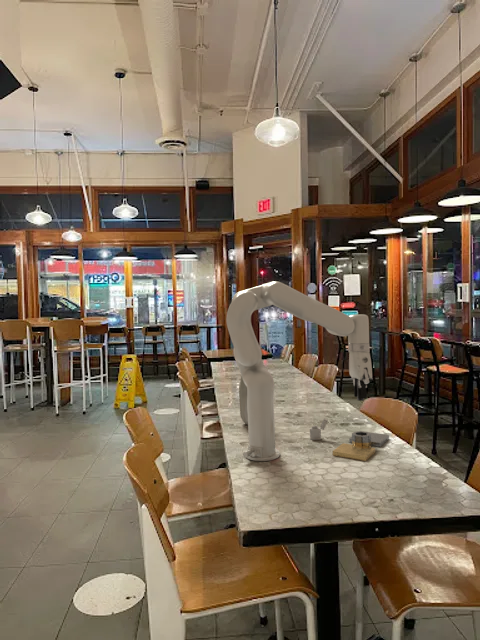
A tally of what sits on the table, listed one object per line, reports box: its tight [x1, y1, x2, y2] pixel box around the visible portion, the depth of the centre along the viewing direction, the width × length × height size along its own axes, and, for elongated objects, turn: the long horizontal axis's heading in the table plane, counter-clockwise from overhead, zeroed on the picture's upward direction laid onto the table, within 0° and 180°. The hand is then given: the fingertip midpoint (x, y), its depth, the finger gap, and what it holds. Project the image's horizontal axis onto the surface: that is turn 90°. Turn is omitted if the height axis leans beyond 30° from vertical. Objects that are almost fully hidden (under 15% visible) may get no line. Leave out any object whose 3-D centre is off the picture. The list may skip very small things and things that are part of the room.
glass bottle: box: [238, 375, 248, 425], centre depth 202 cm, size 10×10×28 cm
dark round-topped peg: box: [356, 378, 365, 402], centre depth 165 cm, size 3×3×9 cm
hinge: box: [332, 430, 390, 462], centre depth 166 cm, size 27×12×5 cm, turn 146°
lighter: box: [309, 418, 329, 441], centre depth 178 cm, size 7×2×8 cm, turn 87°
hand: (360, 396), depth 165 cm, fingers closed on dark round-topped peg, 2 cm apart
